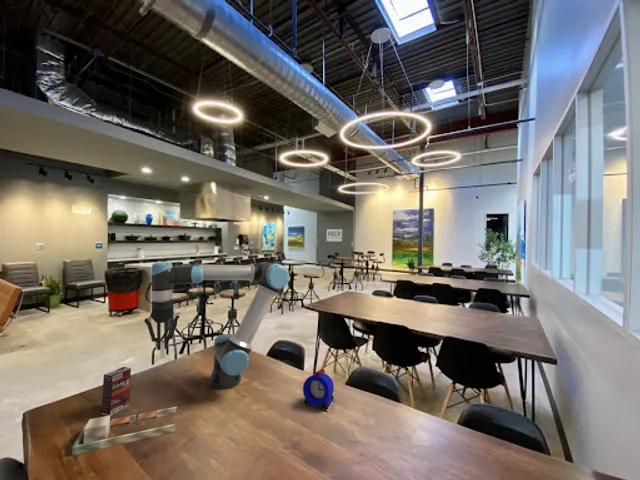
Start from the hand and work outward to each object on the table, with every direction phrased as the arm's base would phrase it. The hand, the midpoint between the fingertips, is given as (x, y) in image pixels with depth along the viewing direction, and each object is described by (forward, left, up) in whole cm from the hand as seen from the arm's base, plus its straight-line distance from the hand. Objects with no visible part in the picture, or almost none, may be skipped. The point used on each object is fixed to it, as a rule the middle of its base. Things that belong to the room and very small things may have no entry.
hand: (162, 357), depth 117 cm
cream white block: (+19, +10, -22) cm, 31 cm away
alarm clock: (-63, +19, -22) cm, 70 cm away
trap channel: (+9, +8, -22) cm, 25 cm away
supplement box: (+17, -8, -22) cm, 29 cm away
